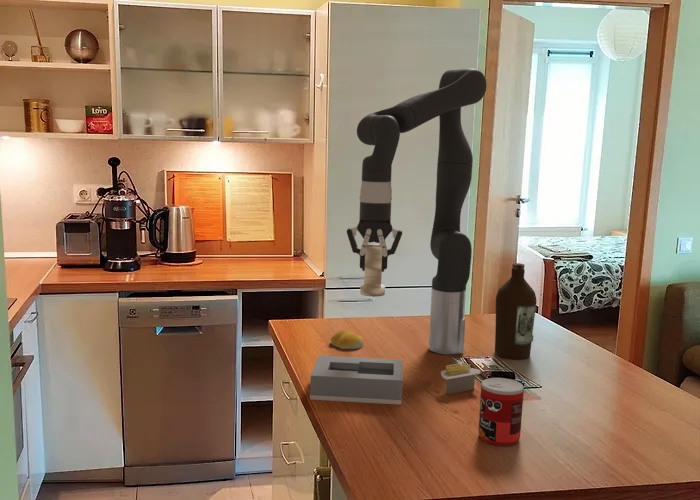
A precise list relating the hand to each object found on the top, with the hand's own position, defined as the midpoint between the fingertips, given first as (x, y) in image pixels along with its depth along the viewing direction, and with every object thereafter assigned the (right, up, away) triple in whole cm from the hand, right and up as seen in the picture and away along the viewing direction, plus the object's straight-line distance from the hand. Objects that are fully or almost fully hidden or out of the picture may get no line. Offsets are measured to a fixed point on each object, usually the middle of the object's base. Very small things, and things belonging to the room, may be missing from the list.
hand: (373, 270), depth 165 cm
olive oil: (+39, -24, +20) cm, 49 cm away
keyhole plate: (-4, -27, -10) cm, 29 cm away
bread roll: (-7, -22, +24) cm, 33 cm away
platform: (+19, -28, -8) cm, 35 cm away
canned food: (+23, -32, -33) cm, 51 cm away
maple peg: (0, -6, +1) cm, 6 cm away
